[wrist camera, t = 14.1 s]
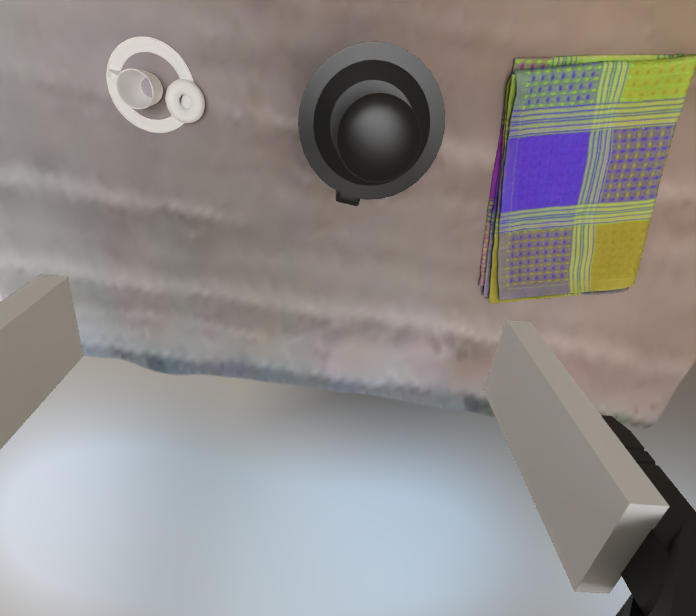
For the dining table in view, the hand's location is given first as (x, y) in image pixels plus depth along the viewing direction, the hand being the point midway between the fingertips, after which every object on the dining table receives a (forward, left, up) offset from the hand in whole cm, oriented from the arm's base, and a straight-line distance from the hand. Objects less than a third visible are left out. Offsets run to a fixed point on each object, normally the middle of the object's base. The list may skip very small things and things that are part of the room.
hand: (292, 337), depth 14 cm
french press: (+3, +4, -35) cm, 35 cm away
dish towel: (+26, 0, -35) cm, 43 cm away
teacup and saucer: (-16, 0, -35) cm, 38 cm away
